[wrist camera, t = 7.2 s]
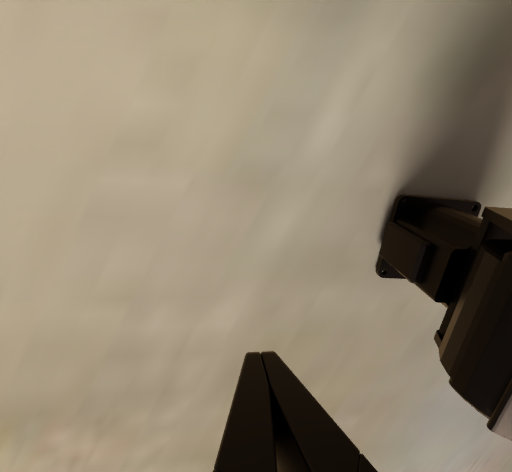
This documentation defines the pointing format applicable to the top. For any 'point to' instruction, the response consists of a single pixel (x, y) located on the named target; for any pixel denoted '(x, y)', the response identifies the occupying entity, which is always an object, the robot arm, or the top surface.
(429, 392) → the top surface
